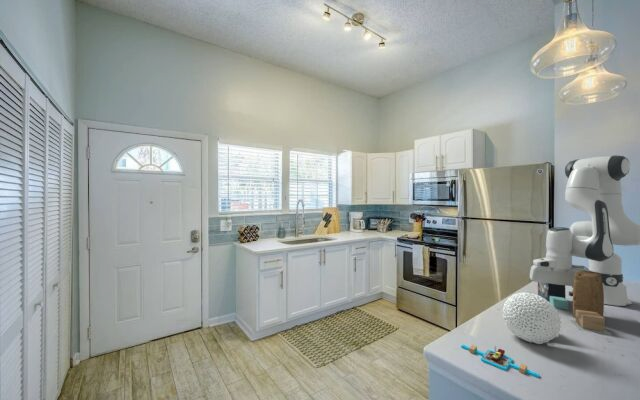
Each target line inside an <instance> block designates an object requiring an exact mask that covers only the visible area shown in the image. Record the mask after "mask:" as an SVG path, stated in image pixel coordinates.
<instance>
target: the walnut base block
mask: <svg viewBox="0 0 640 400" xmlns="http://www.w3.org/2000/svg"><path fill="white" fill-rule="evenodd" d="M605 319H606V318H605V317H604V316H603V317H602V316H601V315H599V314H598V313H596V312H591V311H584V310H576V318H575V321H576V323H577V324H578V325H579V326H580V327H581V328H583V329H588V330H594V331H600V332H605V329H606V327H605V324H606V323H605V321H606V320H605Z"/></svg>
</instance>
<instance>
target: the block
mask: <svg viewBox="0 0 640 400" xmlns="http://www.w3.org/2000/svg"><path fill="white" fill-rule="evenodd" d="M572 290H573V296H572V315H573V318H574V319H576V310H584V311H591V312H596V313H598V314H599V315H601V316H602V317H603V318H604V313H605V312H604V311H605V310H604V309H605V307H604V306H605V304H604V291H603V283H602V276H601V274H600V273H596V272H591V271H579V272H577V273H576V274H575V279H574V284H573V288H572Z"/></svg>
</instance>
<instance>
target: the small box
mask: <svg viewBox="0 0 640 400" xmlns="http://www.w3.org/2000/svg"><path fill="white" fill-rule="evenodd" d="M543 286H544V288H546V289H548V291H547V292H548V293H543V292H542V287H541V286H540V284H539V282H537V295H539V296H541V297H543V298H545V299H546V300H547V301H548V302H550V296H554V297H562V298H565V299H566V285H558V284H550V283H545V285H543ZM566 300H567V299H566Z"/></svg>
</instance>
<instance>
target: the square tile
mask: <svg viewBox="0 0 640 400" xmlns="http://www.w3.org/2000/svg"><path fill="white" fill-rule="evenodd" d="M569 322H570V323H572V324H573V325H574V326H575V327H576V328H577V329H578V330H579V331H586V332H591V333H597V334H603V335H609V336H613V334H612V333H611V332H610V331H608V330H607V329H606V328H605V332H600V331H594V330H588V329H583V328H581V327H580V326H579V325H578V324H577V323H576V320H573V319H569Z"/></svg>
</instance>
